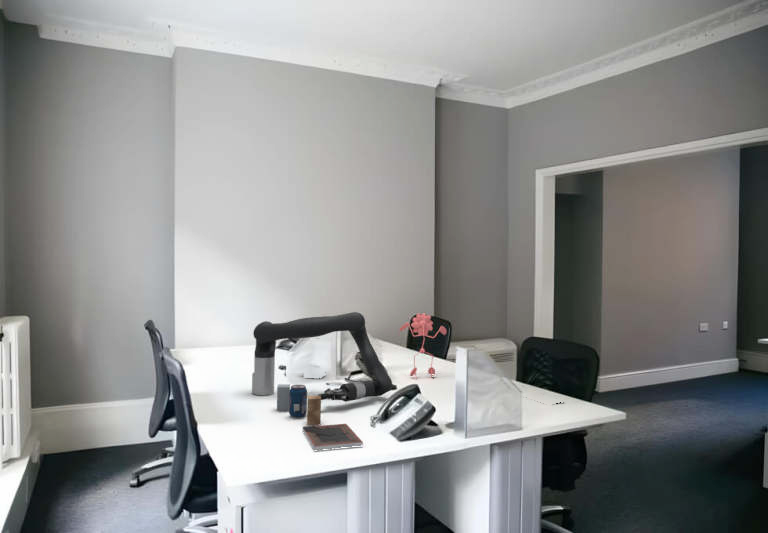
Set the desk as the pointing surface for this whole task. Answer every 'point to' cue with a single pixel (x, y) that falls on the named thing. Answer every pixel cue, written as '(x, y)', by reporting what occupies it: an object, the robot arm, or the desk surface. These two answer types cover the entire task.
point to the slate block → (283, 397)
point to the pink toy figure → (422, 327)
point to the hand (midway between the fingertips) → (319, 397)
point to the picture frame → (331, 436)
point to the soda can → (298, 401)
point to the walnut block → (314, 410)
